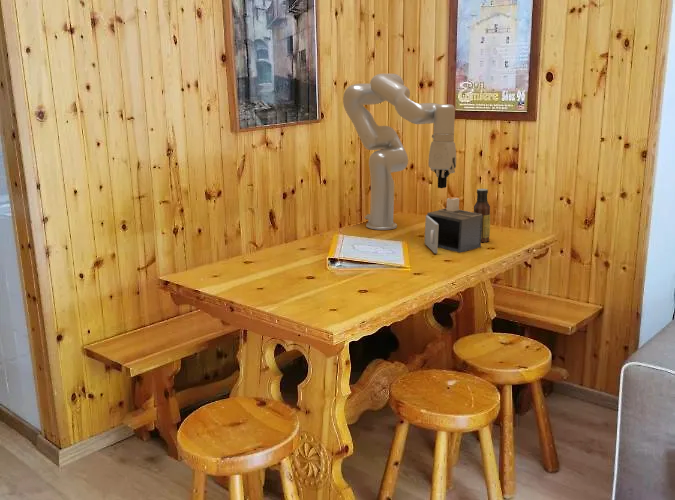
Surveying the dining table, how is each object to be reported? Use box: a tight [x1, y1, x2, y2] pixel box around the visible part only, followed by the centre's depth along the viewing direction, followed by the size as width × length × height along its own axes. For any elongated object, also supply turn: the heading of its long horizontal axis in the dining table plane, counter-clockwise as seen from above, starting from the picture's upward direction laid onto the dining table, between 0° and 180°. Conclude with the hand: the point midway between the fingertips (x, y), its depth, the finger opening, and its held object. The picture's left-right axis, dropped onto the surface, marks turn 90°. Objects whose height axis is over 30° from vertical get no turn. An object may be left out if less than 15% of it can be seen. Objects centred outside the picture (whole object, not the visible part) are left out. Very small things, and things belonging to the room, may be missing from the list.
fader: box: [445, 196, 460, 212], centre depth 265 cm, size 3×4×5 cm
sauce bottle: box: [473, 188, 491, 243], centre depth 269 cm, size 7×6×20 cm
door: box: [424, 214, 439, 254], centre depth 257 cm, size 15×2×11 cm, turn 7°
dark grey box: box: [426, 207, 483, 254], centre depth 263 cm, size 16×12×12 cm
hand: (442, 187), depth 267 cm, fingers closed
